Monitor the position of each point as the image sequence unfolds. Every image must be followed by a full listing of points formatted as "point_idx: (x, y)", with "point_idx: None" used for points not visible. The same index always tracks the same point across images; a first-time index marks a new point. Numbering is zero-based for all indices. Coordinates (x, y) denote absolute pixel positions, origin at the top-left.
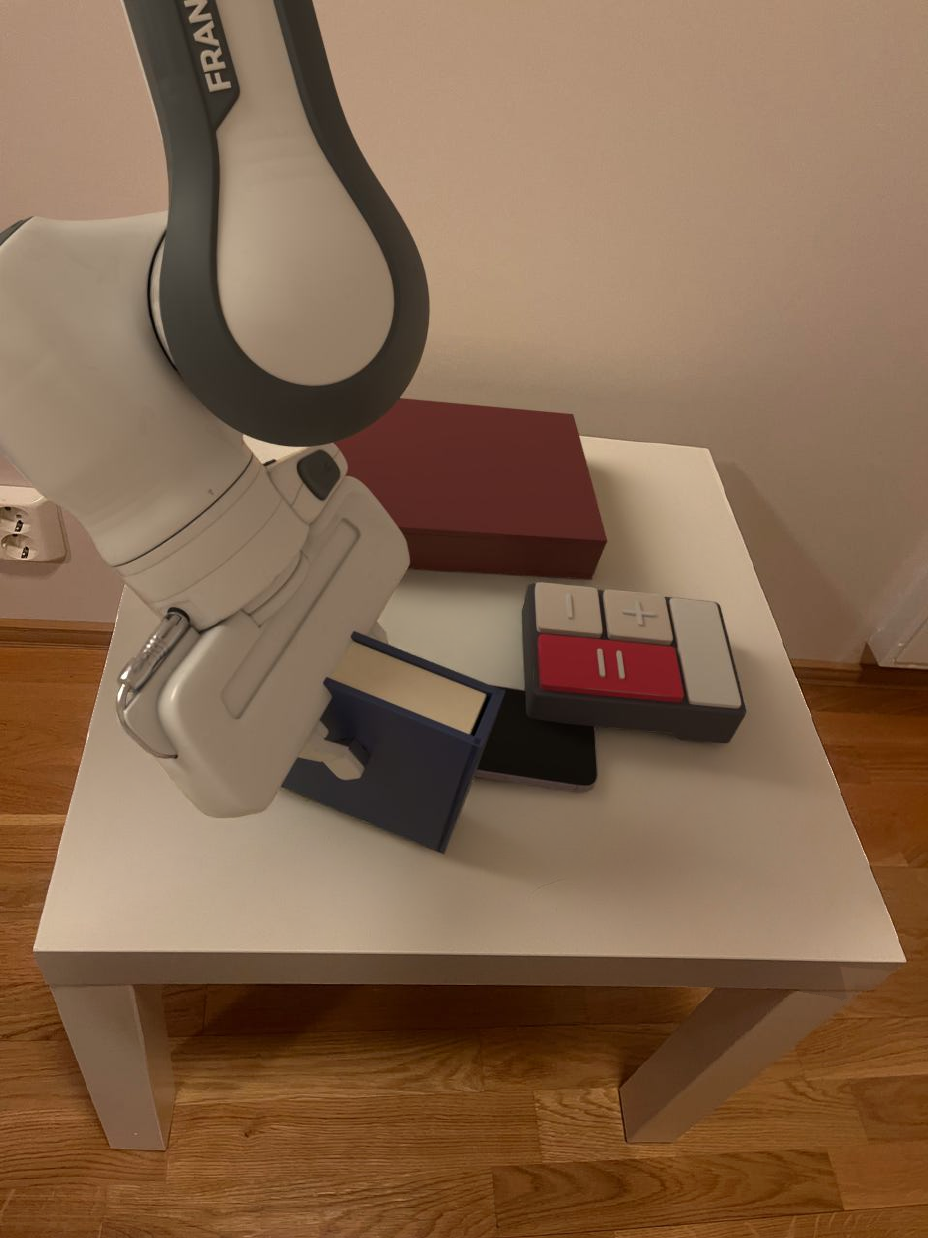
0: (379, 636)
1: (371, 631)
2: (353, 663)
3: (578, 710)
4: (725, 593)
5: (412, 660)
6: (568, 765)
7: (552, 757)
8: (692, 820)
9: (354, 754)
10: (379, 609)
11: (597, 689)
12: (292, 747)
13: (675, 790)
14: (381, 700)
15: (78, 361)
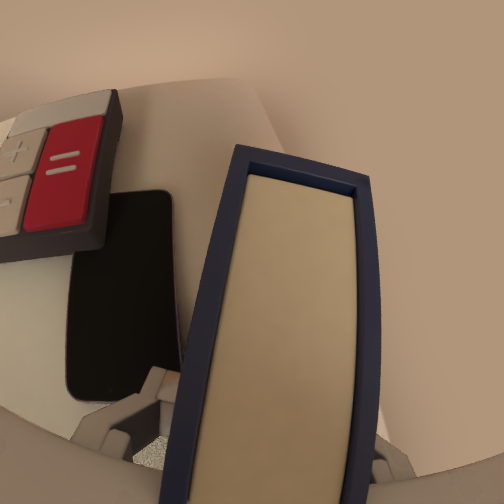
0: (99, 429)
1: (100, 450)
2: (266, 483)
3: (102, 196)
4: (5, 131)
5: (210, 334)
6: (152, 210)
7: (146, 223)
8: (184, 138)
9: None
10: (49, 439)
11: (89, 170)
12: (482, 474)
13: (160, 146)
14: (365, 378)
15: None
